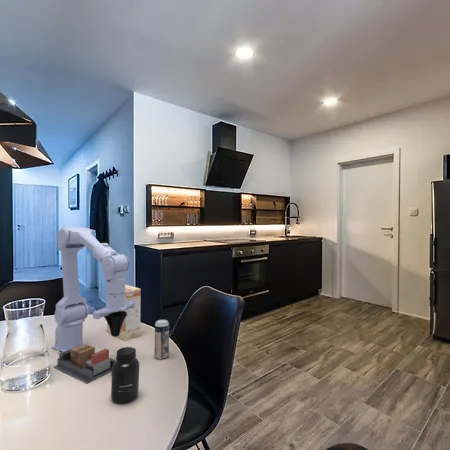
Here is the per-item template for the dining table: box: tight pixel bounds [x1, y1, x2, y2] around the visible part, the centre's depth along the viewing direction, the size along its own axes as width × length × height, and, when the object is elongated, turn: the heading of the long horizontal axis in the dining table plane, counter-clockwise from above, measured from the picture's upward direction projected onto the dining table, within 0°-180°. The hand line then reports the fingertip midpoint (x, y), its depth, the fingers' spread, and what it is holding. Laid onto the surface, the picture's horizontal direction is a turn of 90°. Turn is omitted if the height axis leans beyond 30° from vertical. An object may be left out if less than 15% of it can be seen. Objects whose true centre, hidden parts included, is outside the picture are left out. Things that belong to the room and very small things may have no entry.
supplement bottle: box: [110, 346, 140, 405], centre depth 73 cm, size 7×7×12 cm
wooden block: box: [71, 343, 96, 368], centre depth 90 cm, size 5×5×6 cm
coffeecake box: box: [106, 284, 142, 341], centre depth 117 cm, size 15×7×20 cm, turn 49°
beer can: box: [153, 319, 170, 360], centre depth 96 cm, size 5×5×12 cm
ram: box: [86, 348, 111, 375], centre depth 86 cm, size 4×6×6 cm
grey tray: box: [53, 345, 116, 384], centre depth 88 cm, size 17×11×4 cm, turn 59°
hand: (115, 335), depth 89 cm, fingers closed
